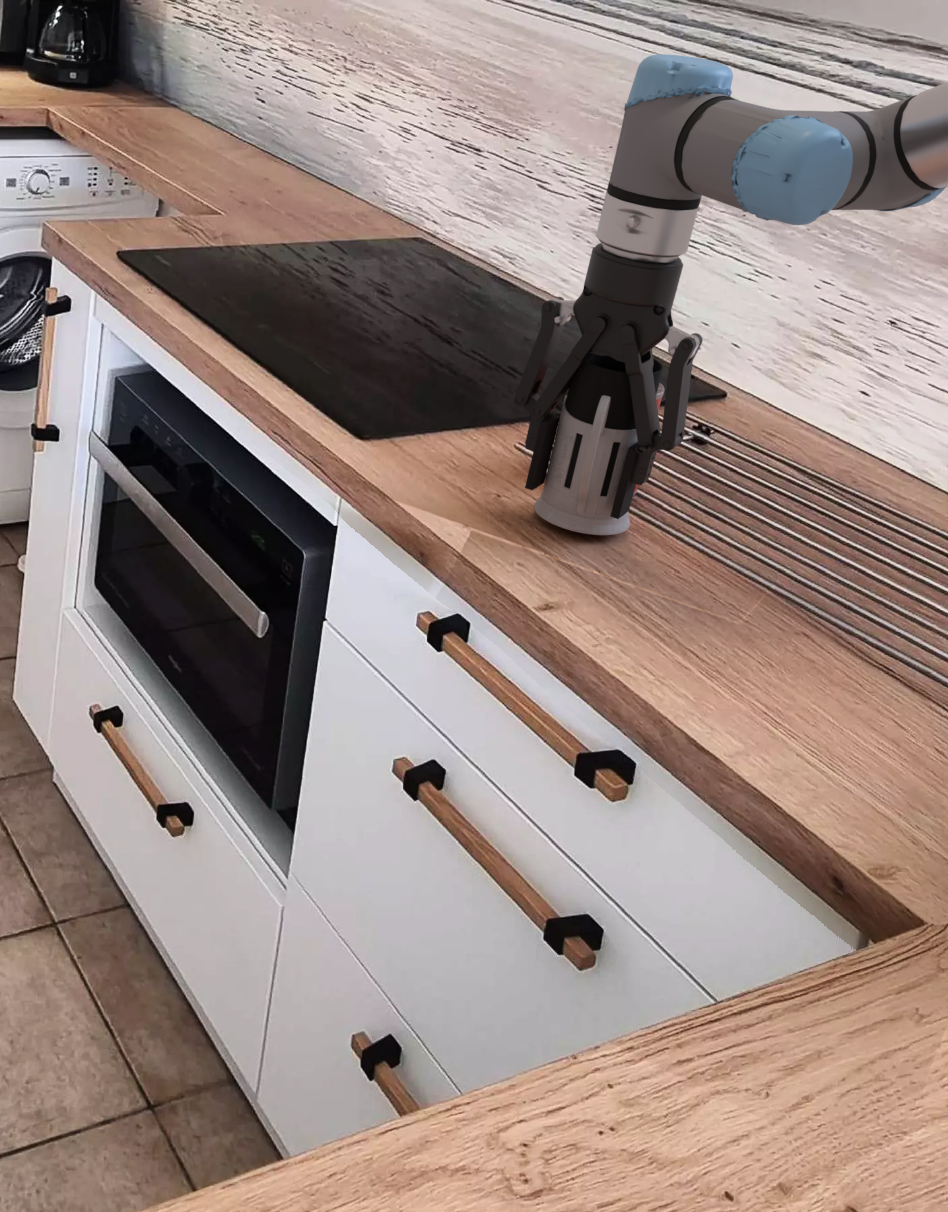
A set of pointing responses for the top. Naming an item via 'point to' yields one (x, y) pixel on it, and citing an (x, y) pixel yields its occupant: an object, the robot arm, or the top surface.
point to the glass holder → (591, 449)
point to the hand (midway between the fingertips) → (576, 499)
